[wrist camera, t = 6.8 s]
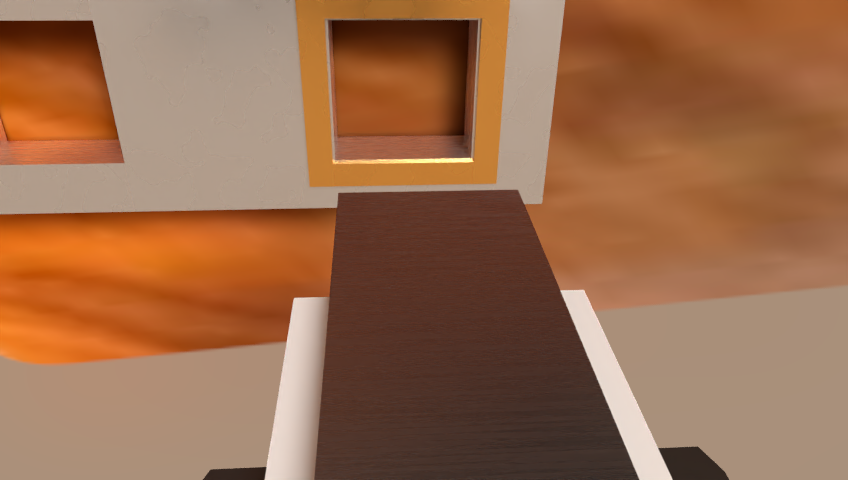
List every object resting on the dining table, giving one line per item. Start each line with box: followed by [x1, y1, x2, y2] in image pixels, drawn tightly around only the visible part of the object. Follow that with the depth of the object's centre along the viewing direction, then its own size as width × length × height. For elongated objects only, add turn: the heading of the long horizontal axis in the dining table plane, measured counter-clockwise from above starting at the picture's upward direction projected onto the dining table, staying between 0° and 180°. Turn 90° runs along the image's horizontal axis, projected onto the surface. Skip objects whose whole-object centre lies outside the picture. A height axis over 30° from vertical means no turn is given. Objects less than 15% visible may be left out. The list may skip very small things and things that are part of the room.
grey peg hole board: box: [0, 0, 565, 214], centre depth 28 cm, size 10×26×3 cm, turn 89°
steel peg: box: [314, 190, 639, 480], centre depth 12 cm, size 4×4×11 cm
